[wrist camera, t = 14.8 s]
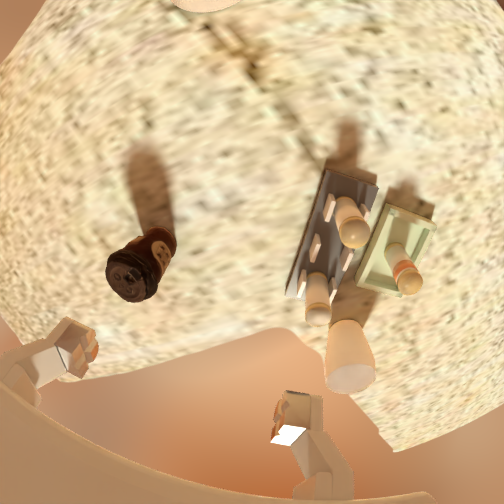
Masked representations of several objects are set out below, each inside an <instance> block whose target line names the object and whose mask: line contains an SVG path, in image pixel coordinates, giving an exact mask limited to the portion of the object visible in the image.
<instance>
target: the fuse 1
mask: <svg viewBox="0 0 504 504" xmlns="http://www.w3.org/2000/svg"><path fill="white" fill-rule="evenodd" d="M306 281H307V283H306V285H305V304H306V311H305V319H306V322H307V323H308V324H309V325H311V326H314V327H321V326H325V325H326V324H328V323H329V322H330V321H331V318H332V313H331V307H330V299H329V292H328V282H327V277H326V275H325V274H324V273H322V272H319V271H314V272H311V273H309V274H308V275H307V276H306Z"/></svg>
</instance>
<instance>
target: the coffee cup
mask: <svg viewBox="0 0 504 504" xmlns="http://www.w3.org/2000/svg"><path fill="white" fill-rule="evenodd" d="M175 252H176V242H175V239H174V237H173V236H172V235H171V233H170V232H169V231H168V230H166V229H165V228H164V227H158V226H156V227H152V228H150V229H149V230H148V231H147V233H146V235H145V236H138V237H137V238H136V239H134V240H132V241H131V242H129V243H128V244H127V245H126V246H125V247H124V248H123V249H120V250H118V251H116V252H115V253H113V254H111V255H110V256H109V258H108V261H107V267H106V271H105V273H106V279H107V281H108V283H109V285H110V286H111V288H112V289H113V290H114V291H115V292H116V293H117V294H118V295H119V296H120V297H121V298H123V299H124V300H126V301H127V302H132V303H135V302H141V301H143V300H146V299H148V298H151V297H152V296H153V295H154V294H155V293H156V291H157V288H158V283H159V282H160V280H161V278H162V276H163V274H164V273H165V270H166V268H167V267H168V265H169V263H170V260H171V258H172V257H173V256H174V254H175Z"/></svg>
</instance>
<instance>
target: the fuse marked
mask: <svg viewBox="0 0 504 504" xmlns="http://www.w3.org/2000/svg"><path fill="white" fill-rule="evenodd" d="M384 257H385V259H386V261H387V263H388V265H389V267H390V269H391V272H392V274H393V277H394V279H395V281H396V284H397V286H398V288H399V291H400V292H401V293H402V294H403V295H412V294H414V293H416V292H417V291H419V289H420V288H421V286H422V283H423V279H422V277H421V275H420V273H419V271H418V270H417V268H416V266H415V265H414V263H413V262H412V260H411V258H410V257H409V255H408V253H407V252H406V250H405V248H404V246H403V245H402V244H401V243H399V242H393V243H390V244H389V245H388V246H387V247H386V248H385V250H384Z"/></svg>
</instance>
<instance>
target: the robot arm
mask: <svg viewBox="0 0 504 504" xmlns="http://www.w3.org/2000/svg"><path fill="white" fill-rule="evenodd" d="M171 1H172V3H174V4H175V5H176V6H178V7H179V8H181V9H184V10H187V11H191V12H212V11H217V10H221V9H224V8H227V7H230V6H232V5H234V4H236V3H238V2H239V1H241V0H171ZM95 336H96V333H95V330H93V329H91V328H89V327H87V326H85V325H83V324H81V323H79V322H77V321H75V320H73V319H71V318H69V317H65V318H63V319H62V320H61V321H60V323H59V324H58V325H57V326H56V327H55V328H54V329H53V331H52V332H51V333H50V334H49V335H48V337H47V338H46V339H43V338H42V339H40V340H37V341H34V342H31V343H29V344H26V345H23V346H21V347H18V348H16V349H13V350H10V351H7V352H4V354H3V355H2V356H1V357H0V504H438V503H437V502H436V500H435V499H434V498H433V497H432V496H431V495H430V494H428V493H427V492H417V493H411V494H405V495H399V496H392V497H383V498H373V499H360V500H354V471H353V470H352V469H351V467H350V466H349V464H348V463H347V461H346V460H345V458H344V457H343V456H342V454H341V453H340V451H339V449H338V448H337V447H336V445H335V443H334V442H333V441H332V439H331V437H330V436H329V434H328V433H327V432H326V431H323V398H322V396H317V395H310V394H305V393H300V392H293V391H287V390H286V391H284V393H283V395H282V399H280V400H279V401H278V403H277V405H276V408H275V412H274V417H273V420H274V422H275V423H276V424H275V425H274V427H273V428H272V433H271V441H270V442H272V443H277V444H283V445H289V446H290V448H291V450H292V452H293V454H294V456H295V458H296V460H297V463H298V465H299V467H300V469H301V471H302V473H303V474H304V477H305V479H306V480H305V481H303V482H302V483H300V484H298V485H297V486H295V487H294V488H293V497H292V499H285V498H275V497H265V496H259V495H251V494H245V493H240V492H234V491H229V490H224V489H219V488H215V487H211V486H207V485H203V484H199V483H195V482H192V481H188V480H185V479H181V478H178V477H175V476H172V475H169V474H165V473H163V472H160V471H157V470H154V469H151V468H149V467H146V466H143V465H141V464H138V463H136V462H133V461H131V460H129V459H126V458H124V457H122V456H119V455H117V454H115V453H113V452H111V451H109V450H107V449H104V448H102V447H100V446H98V445H96V444H94V443H92V442H90V441H88V440H87V439H85V438H83V437H81V436H79V435H77V434H76V433H74V432H72V431H71V430H69V429H67V428H66V427H64V426H62V425H61V424H59V423H57V422H56V421H54V420H53V419H51V418H50V417H48V416H47V415H45V414H44V413H42V412H40V411H39V410H38V409H37V407H38V406H39V404H40V402H41V401H42V397H41V395H40V394H39V392H38V391H37V389H38V388H40V387H41V386H43V385H45V384H47V383H49V382H50V381H52V380H54V379H56V378H58V377H60V376H61V375H63V374H65V373H67V372H69V373H71V374H73V375H75V376H77V377H79V378H81V379H82V378H83V376H84V375H85V373H86V372H87V370H88V369H89V366H88V363H90V362H93V361H94V359H95V358H96V356H97V353H98V349H99V345H98V342H97V340H96V339H95Z"/></svg>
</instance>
